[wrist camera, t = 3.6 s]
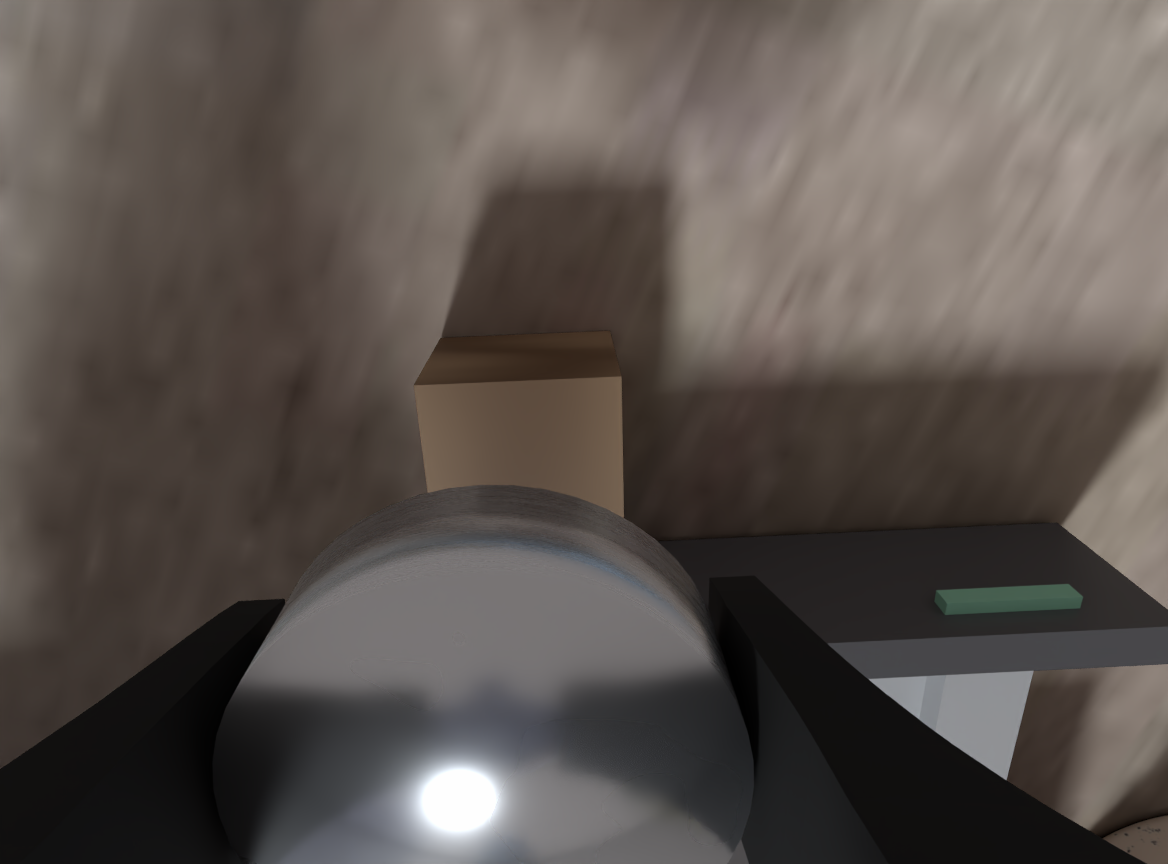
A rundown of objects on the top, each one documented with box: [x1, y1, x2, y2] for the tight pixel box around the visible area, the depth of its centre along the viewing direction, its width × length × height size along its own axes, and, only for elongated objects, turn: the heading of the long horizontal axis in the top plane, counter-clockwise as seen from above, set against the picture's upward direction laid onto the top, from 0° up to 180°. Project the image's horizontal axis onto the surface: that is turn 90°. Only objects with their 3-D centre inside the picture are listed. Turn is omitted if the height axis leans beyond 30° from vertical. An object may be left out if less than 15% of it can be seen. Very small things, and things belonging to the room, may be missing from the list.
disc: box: [212, 485, 754, 864], centre depth 9 cm, size 6×6×2 cm
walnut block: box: [414, 331, 624, 518], centre depth 17 cm, size 4×4×4 cm
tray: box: [658, 523, 1168, 864], centre depth 20 cm, size 16×12×4 cm
